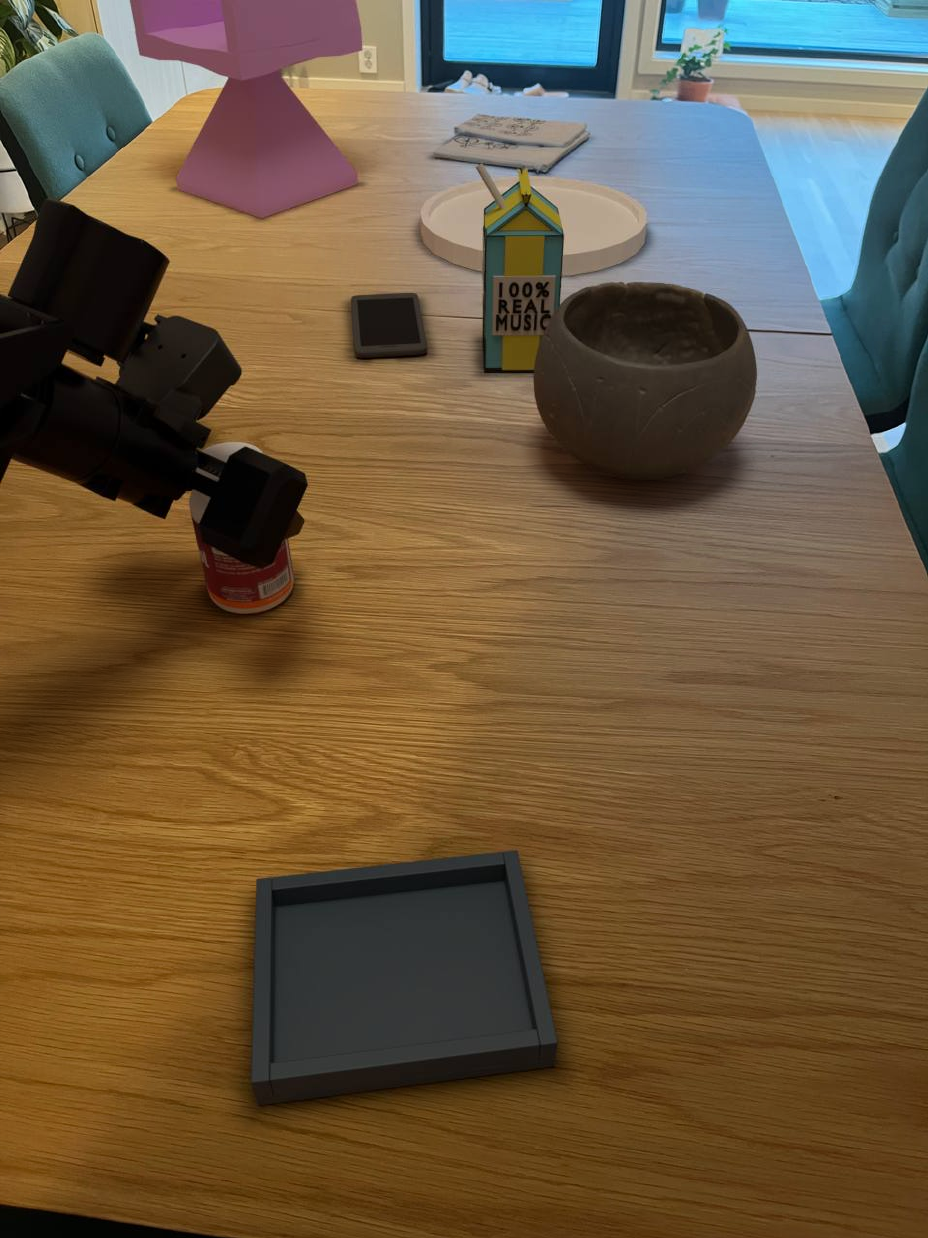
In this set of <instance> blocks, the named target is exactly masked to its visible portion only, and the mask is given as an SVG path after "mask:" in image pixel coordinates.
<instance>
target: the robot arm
mask: <svg viewBox="0 0 928 1238" xmlns="http://www.w3.org/2000/svg"><path fill="white" fill-rule="evenodd" d="M170 262H171V261H170V259H169V258H168V256H166V255H165V253H163V252H162V251H161V250H159V249H158V248H157V247H155V246H154V245H153V244H151V243H149V242H148V241H146V240H144V239H142V238H139V237H137V236H133V235H131V234H128V233H125V232H124V231H122V230H120V229H118V228H116V227H114V226H112V225H110V224H108V223H107V222H104V221H103V220H99V219H97V218H96V217H93V216H91V215H90V214H87V213H86V212H84V211H83V210H82V209H80V208H79V207H77V206H76V205H75V204H71V203H68V202H66V201H62V200H59V199H56V198H53V197H48V198H45V199H44V201H43V204H42V206H41V207H40V210H39V213H38V215H37V218H36V220H35V225H34V231H33V235H32V237H31V240H30V243H29V245H28V246H27V250H26V251H25V254H24V256H23V259H22V261H21V263H20V265H19V268H18V270H17V272H16V275H15V277H14V279H13V282H12V284H11V286H10V288H9V291H8V293H7V295H5V294H3V293H0V485H1V484H2V481H3V479H4V477H5V474H6V473H7V470H8V468H9V465H10V463H11V460H12V461H15V462H17V463H20V464H23V465H25V466H29V467H31V468H34V469H37V470H39V471H42V472H44V473H47V474H49V475H53V476H56V477H58V478H61V479H63V480H66V481H69V482H71V483H73V484H77V485H78V486H79V487H82V488H84V489H86V490H88V491H90V492H92V493H94V494H96V495H98V496H100V497H101V498H104V499H108V500H110V501H113V502H116V500H120V501H123V502H126V503H129V504H131V506H134V507H136V508H138V509H140V510H142V511H144V512H146V513H148V514H150V515H152V516H154V517H157V518H160V519H163V520H166V518H167V517H168V514H169V512H170V510H171V507H172V505H173V503H174V501H179V500H180V499H181V498H182V497H183V496H184V495H185V494H186V492H192V490H193V489H194V490H196V491H198V492H200V493H202V494H204V495H206V496H208V497H211V498H210V500H209V502H208V505H207V507H206V509H205V511H204V514H203V516H202V518H201V520H200V522H199V528H200V533H201V538H202V542H203V543H205V544H207V545H209V546H211V547H213V548H215V549H217V550H219V551H221V552H223V553H225V554H227V555H229V556H231V557H233V558H235V559H236V560H238V561H240V562H242V563H245V564H248V565H251V566H254V567H257V568H260V569H263V568H265V567H267V566H269V565H272V564H273V562H274V560H275V557H276V555H277V553H278V551H279V549H280V546H281V544H282V542H283V540H286V539H288V540H289V539H291V538H293V537H295V536H298V535H300V533H301V531H302V529H303V527H304V524H305V522H306V521H305V518H304V517H303V516H302V514H301V513H300V512H299V511H298V509H299V506H300V504H301V502H302V500H303V497H304V495H305V493H306V491H307V488H308V487H309V483H308V480H307V476H306V473H305V472H303V471H301V470H299V469H298V468H296V467H294V466H292V465H290V464H287V463H286V462H283V461H281V460H279V459H277V458H274V457H272V456H270V455H267V454H265V453H264V452H263V453H260V452H258V451H256V450H253V449H251V448H249V447H247V446H245V447H243V448H241V449H240V450H238V451H236V452H234V453H233V454H231V455H229V458H228V460H227V462H224V461H222V460H220V459H217V458H215V457H213V456H211V455H209V454H206V453H204V452H202V450H203V449H205V446H206V445H207V441H208V439H209V437H210V434H211V432H212V429H211V428H209V427H207V426H206V425H203V424H201V423H199V422H197V421H200V420H202V419H203V418H205V417H206V416H207V415H208V414H209V413H210V412H211V411H212V410H213V408H214V407H215V406H216V405H217V403H218V402H219V401H220V399H221V398H222V397H223V396H224V395H225V393H227V391H228V389H229V388H230V387H232V386H233V387H234V386H235V385H236V384H237V383H238V382H239V380H240V378H241V376H242V373H243V370H242V369H243V368H242V366H241V365H240V363H239V362H238V361H237V359H236V358H235V356H234V355H233V353H232V351H231V350H230V348H229V346H228V345H227V344H226V342H225V340H224V339H223V338H222V336H221V334H220V333H219V331H218V330H216V329H215V328H213V327H210V326H208V325H205V324H202V323H200V322H197V321H194V320H193V319H190V318H187V317H184V316H180V315H171V316H168V317H166V316H163V315H161V314H156V315H155V316H154V317H153V320H154V321H155V323H156V324H152V323H150V322H146V321H145V319H146V317H147V315H148V312H149V310H150V309H151V308H150V307H151V305H152V303H153V300H154V298H155V297H156V294H157V292H158V290H159V287H160V285H161V283H162V280H163V278H164V277H165V274H166V271H167V269H168V267H169V265H170ZM67 353H68V354H71V355H73V356H74V357H77V358H79V359H81V360H83V361H86V362H87V363H89V364H92V365H94V366H97V367H99V368H102V366H103V364H104V363H105V360H106V357H107V358H109V359H111V360H112V361H115V362H116V365H117V366H118V368H119V369H118V376H119V377H118V378H117V380H116V381H115V383H113V382H112V381H110V380H107V379H105V378H103V377H100V376H98V375H96V377H95V378H93V377H91V376H89V375H87V374H86V373H83V372H82V371H79V370H77V369H75V368H73V367H71V366H69V365H68V364H65V363H63V361H64V359H65V356H66V354H67ZM200 449H201V450H200ZM197 468H199V469H201V470H203V471H206V472H208V473H210V474H212V475H214V476H216V477H218V478H219V480H218V482H217V481H215V480H213V479H211V478H209V477H207V476H204V475H202V474H200V473H198V472H196V470H197Z"/></svg>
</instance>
